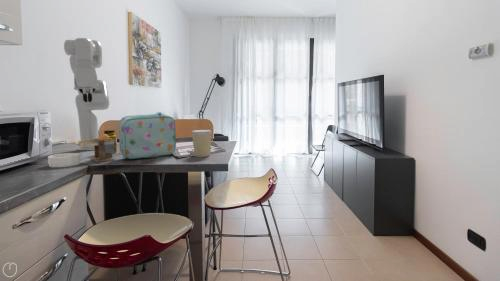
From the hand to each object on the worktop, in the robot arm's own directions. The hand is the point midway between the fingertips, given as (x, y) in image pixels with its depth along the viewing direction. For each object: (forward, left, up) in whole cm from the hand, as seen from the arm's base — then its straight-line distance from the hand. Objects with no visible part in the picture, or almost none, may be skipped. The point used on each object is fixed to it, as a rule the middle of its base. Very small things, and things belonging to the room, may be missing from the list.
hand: (87, 101), depth 179 cm
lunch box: (+25, +20, -27) cm, 42 cm away
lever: (+11, -2, -24) cm, 27 cm away
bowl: (+17, -16, -27) cm, 36 cm away
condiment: (-2, +9, -27) cm, 29 cm away
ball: (+17, +2, -19) cm, 25 cm away
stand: (+17, 0, -27) cm, 32 cm away
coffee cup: (+41, +40, -27) cm, 63 cm away
